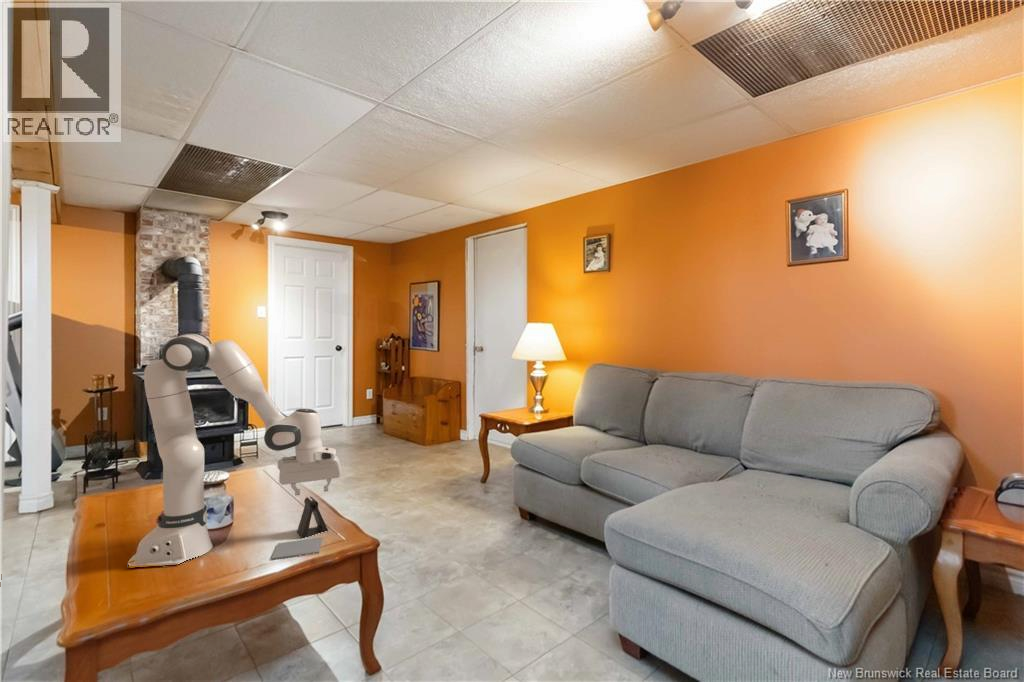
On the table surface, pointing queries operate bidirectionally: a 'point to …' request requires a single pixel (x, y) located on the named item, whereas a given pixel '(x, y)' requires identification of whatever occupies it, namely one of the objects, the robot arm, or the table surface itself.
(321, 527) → the black triangular stand
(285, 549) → the mat
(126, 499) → the table surface
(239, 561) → the table surface
